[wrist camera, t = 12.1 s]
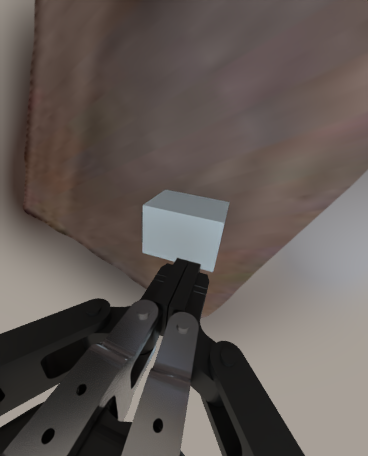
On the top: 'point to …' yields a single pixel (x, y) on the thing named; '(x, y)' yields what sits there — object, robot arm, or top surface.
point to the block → (183, 227)
